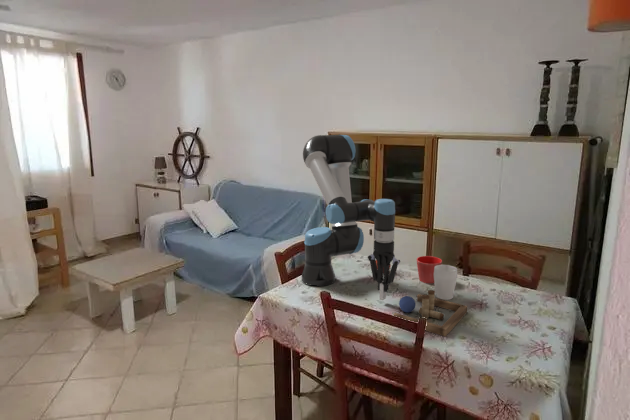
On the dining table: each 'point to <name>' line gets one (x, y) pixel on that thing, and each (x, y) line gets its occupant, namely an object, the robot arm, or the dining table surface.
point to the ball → (407, 304)
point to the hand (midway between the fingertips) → (382, 298)
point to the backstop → (449, 324)
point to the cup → (445, 281)
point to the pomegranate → (383, 267)
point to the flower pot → (427, 268)
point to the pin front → (433, 314)
